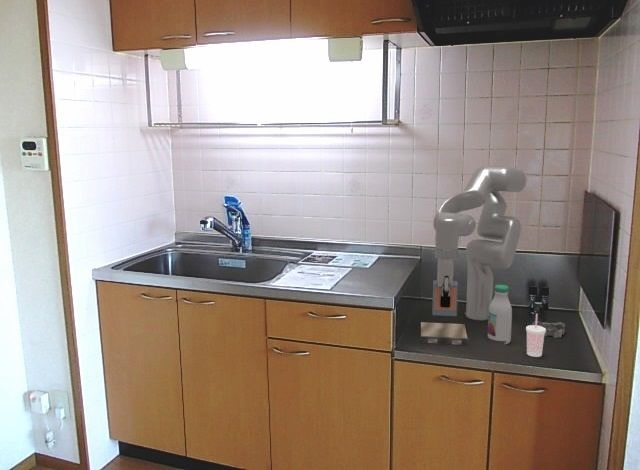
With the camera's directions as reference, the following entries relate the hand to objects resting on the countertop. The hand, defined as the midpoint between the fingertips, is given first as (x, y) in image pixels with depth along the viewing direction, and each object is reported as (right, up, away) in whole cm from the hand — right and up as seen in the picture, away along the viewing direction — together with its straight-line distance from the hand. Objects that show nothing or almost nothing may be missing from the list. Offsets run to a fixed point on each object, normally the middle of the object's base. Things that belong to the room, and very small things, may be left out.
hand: (444, 303), depth 193 cm
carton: (0, -3, +1) cm, 3 cm away
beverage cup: (+28, -16, -8) cm, 33 cm away
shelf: (+1, -13, +8) cm, 15 cm away
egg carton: (+40, -12, +10) cm, 43 cm away
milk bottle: (+20, -14, +4) cm, 24 cm away
